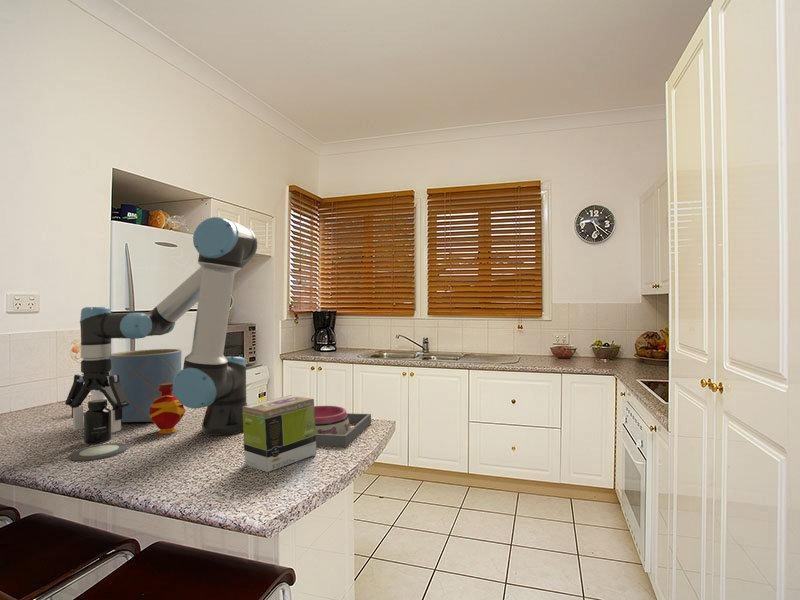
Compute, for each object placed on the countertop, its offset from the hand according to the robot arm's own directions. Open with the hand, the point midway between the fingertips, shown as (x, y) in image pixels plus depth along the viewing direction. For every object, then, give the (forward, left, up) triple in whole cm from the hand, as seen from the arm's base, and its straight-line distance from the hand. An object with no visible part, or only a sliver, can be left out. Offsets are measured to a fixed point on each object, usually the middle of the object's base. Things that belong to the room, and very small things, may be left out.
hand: (97, 430), depth 133 cm
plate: (-10, +9, -3) cm, 14 cm away
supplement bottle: (0, 0, -4) cm, 4 cm away
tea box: (-63, +7, -4) cm, 64 cm away
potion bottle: (-14, -12, -4) cm, 19 cm away
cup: (+34, -33, -4) cm, 47 cm away
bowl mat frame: (-64, -17, -3) cm, 67 cm away
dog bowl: (-64, -17, -4) cm, 66 cm away
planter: (+7, -27, -4) cm, 28 cm away
